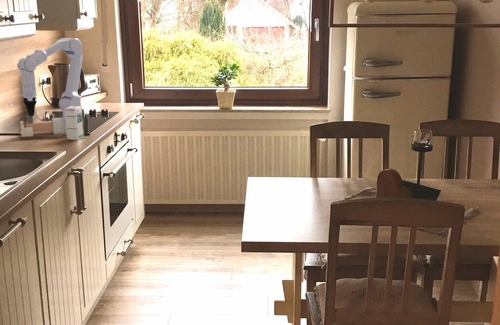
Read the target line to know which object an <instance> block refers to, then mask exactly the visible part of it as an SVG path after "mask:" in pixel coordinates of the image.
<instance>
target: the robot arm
mask: <svg viewBox="0 0 500 325" xmlns="http://www.w3.org/2000/svg"><path fill="white" fill-rule="evenodd" d="M59 51H62V52H63V53H65V54H66V55H67V56H68V58H69V59H70V62H69V68H68V73H67V79H66V80H67V81H66V86H65V91H63V93H61V97H60V99H59V101H58V107H59V109H61V112H62V118H63V117H65V108H68V107H70V106H80V107H82V105H81V96H80V95H79V94H78V91H79V86H80V79H81V78H80V77H81V72H82V65H83V59H84V55H83V43H82V41H81V40H80V39H78V38H76V37H74V38H72V37H62V38H60V39H57V40H56V41H55V42H54V43H53V44H51V45H50V46H48V47H46V48H44V49H36V50H34V52H33V53H31V54H27V55H26V57H21V58H20V59H19V60H18V62H17V64H16V66H17V68H18V70H19V73H20V80H21V89H22V90H21V91H22V92H21V93H22V94H20V95H19V96H20V97H22V98H23V99H22V100H23V103H24V105H25V107H26V111H27V115H29V116H32V117H34V116H35V110H36V108H35V107H36V104H37V91H36V90H37V89H36V80H35V79H36V78H35V71H36V69H37V67H38V66H40V65H41V64H44V63H45V62H47V61H48V58H49V57H51V56H53V54H55V53H58V52H59Z"/></svg>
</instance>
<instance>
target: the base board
mask: <svg viewBox="0 0 500 325" xmlns="http://www.w3.org/2000/svg"><path fill="white" fill-rule="evenodd" d="M19 138H20V141H25V140H27V141H28V140H38V139H42V140H43V139H57V138H67V134H57V135H54V134H53V131H46V132H33V136H26V137H22V132H20V133H19Z"/></svg>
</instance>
